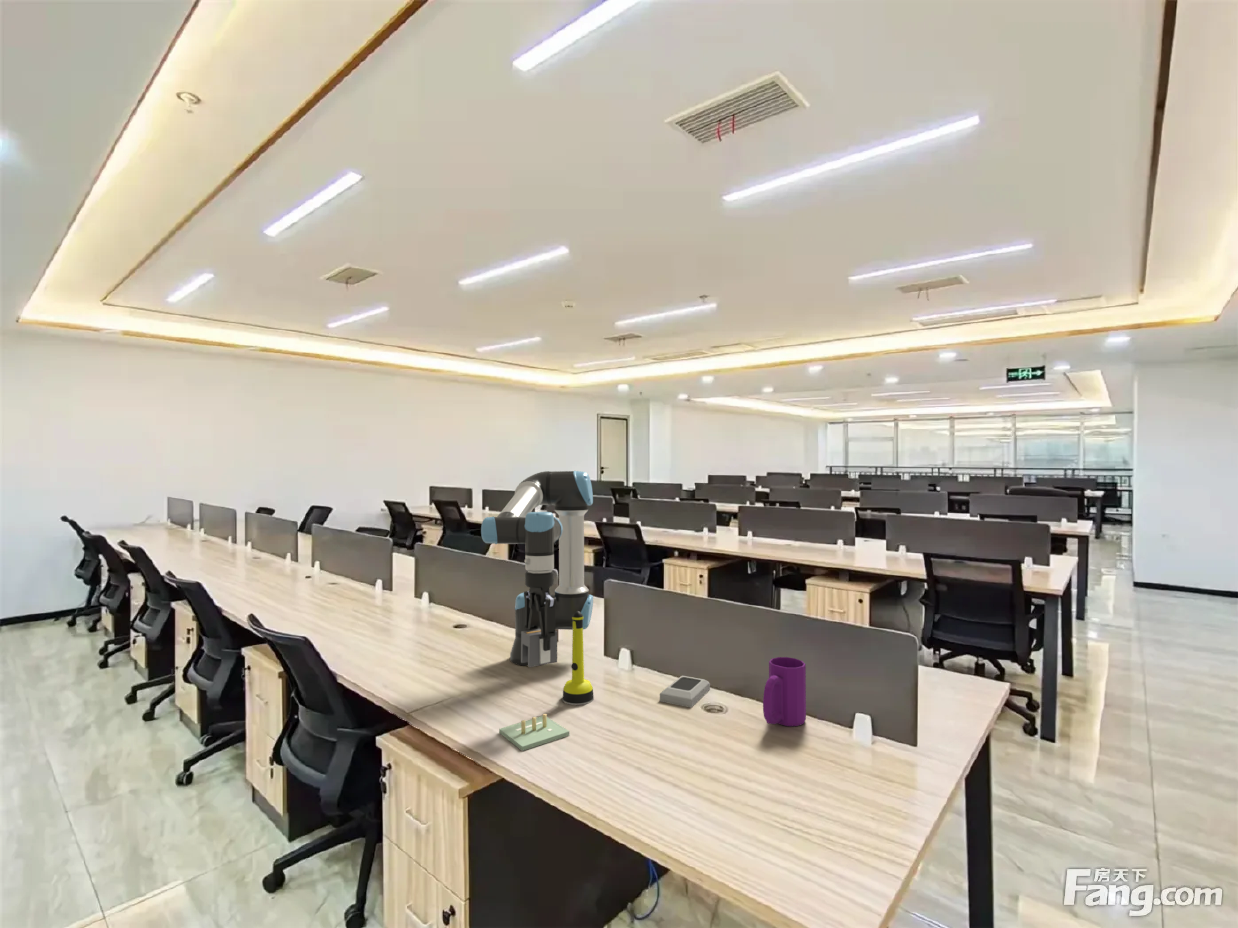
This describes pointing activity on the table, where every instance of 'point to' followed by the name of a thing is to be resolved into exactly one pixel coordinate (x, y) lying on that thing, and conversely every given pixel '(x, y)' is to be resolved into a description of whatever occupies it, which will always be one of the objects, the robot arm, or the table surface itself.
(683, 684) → the grey flat block
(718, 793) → the table surface
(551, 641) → the plug housing
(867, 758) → the table surface
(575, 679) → the flashlight
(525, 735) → the board
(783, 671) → the mug
